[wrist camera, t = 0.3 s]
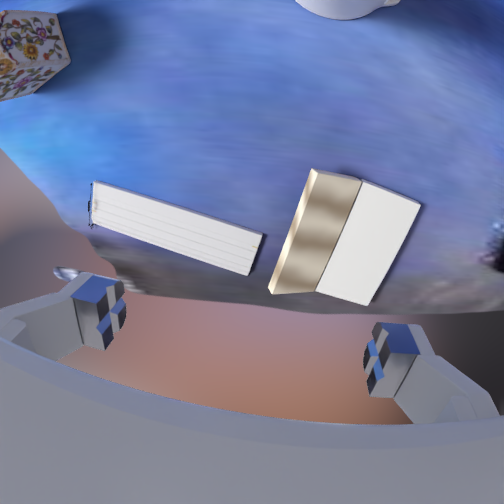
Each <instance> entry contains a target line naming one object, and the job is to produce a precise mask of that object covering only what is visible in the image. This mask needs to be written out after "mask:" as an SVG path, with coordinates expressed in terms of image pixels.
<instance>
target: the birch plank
mask: <svg viewBox="0 0 504 504" xmlns="http://www.w3.org/2000/svg"><path fill="white" fill-rule="evenodd" d="M361 183H362V181H360V180H359V179H357V178H356V177H353V176H348V175H343V174H338V173H333V172H328V171H323V170H318V169H313V168H311V171H310V174H309V177H308V180H307V182H306V185H305V188H304V191H303V194H302V196H301V199H300V202H299V205H298V208H297V210H296V213H295V216H294V219H293V222H292V224H291V227H290V230H289V233H288V235H287V238H286V241H285V243H284V246H283V249H282V252H281V254H280V257H279V260H278V262H277V265H276V268H275V270H274V273H273V276H272V278H271V281H270V284H269V286H268V288H269V290H270V292H271V293H272V294H284V293H298V292H312V291H314V290H315V288H316V285H317V283H318V281H319V279H320V277H321V275H322V273H323V271H324V268H325V266H326V264H327V262H328V260H329V257H330V255H331V253H332V251H333V249H334V246H335V244H336V242H337V240H338V237H339V235H340V233H341V231H342V228H343V226H344V224H345V221H346V219H347V217H348V214H349V212H350V210H351V207H352V205H353V202H354V200H355V198H356V195H357V193H358V190H359V188H360V185H361Z"/></svg>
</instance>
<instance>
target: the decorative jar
mask: <svg viewBox="0 0 504 504" xmlns="http://www.w3.org/2000/svg"><path fill="white" fill-rule="evenodd" d="M70 62H71V59H70V56H69V53H68V50H67V48H66V45H65V42H64V38H63V34H62V31H61V28H60V25H59V21H58V18H57V14H55V13H48V12H39V11H22V10H4V11H2V12H0V102H1V101H5V100H9V99H14V98H18V97H22V96H26V95H30V94H32V93H34V92H35V91H36V90H37V89H38V88H40V87H41V86H42V85H43V84H44V83H46V82H47V81H48V80H49V79H50V78H52V77H53V76H54V75H55V74H57V73H58V72H59V71H60V70H62V69H63V68H64V67H66V66H67V65H68V64H70Z"/></svg>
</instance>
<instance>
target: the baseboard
mask: <svg viewBox="0 0 504 504" xmlns="http://www.w3.org/2000/svg"><path fill="white" fill-rule="evenodd" d="M91 186H92V183H91ZM90 200H91V195H90ZM89 202H90V201H88V212H89V207H90V205H89V204H90V203H89ZM92 202H93V204H92V220H93V223H95V224H97V225H100V226H103V227H106V228H108V229H111V230H114V231H117V232H120V233H123V234H125V235H128V236H131V237H134V238H137V239H140V240H143V241H145V242H148V243H151V244H154V245H157V246H160V247H163V248H166V249H169V250H171V251H174V252H177V253H180V254H183V255H186V256H189V257H192V258H195V259H198V260H201V261H204V262H207V263H210V264H213V265H216V266H219V267H222V268H225V269H228V270H231V271H234V272H237V273H240V274H243V275H246V276H248V273H249V271H250V268H251V265H252V263H253V260H254V257H255V254H256V251H257V249H258V246H259V243H260V240H261V238H262V234H263V233H261V232H258V231H255V230H252V229H249V228H246V227H243V226H240V225H237V224H233V223H230V222H227V221H224V220H221V219H218V218H215V217H212V216H209V215H206V214H203V213H200V212H197V211H193V210H190V209H187V208H184V207H181V206H178V205H175V204H172V203H168V202H165V201H162V200H159V199H156V198H153V197H149V196H146V195H143V194H140V193H137V192H133V191H130V190H127V189H124V188H120V187H117V186H114V185H111V184H107V183H104V182H101V181H98V180H96V181H94V186H93V200H92ZM89 220H90V213H89ZM89 225H90V224H89ZM93 225H94V224H92V225H91V226H93ZM91 226H90V227H91ZM92 228H93V227H91V229H92Z"/></svg>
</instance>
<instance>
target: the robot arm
mask: <svg viewBox="0 0 504 504" xmlns="http://www.w3.org/2000/svg"><path fill="white" fill-rule="evenodd" d="M295 1H296V2H298V3H299V4H300V5H301V6H303V7H304V8H305V9H307V10H309V11H311V12H313V13H315V14H317V15H320V16H323V17H326V18H331V19H339V20H347V19H355V18H359V17H362V16H365V15H367V14H369V13H371V12H372V11H374V10H375V9H377V8H379V7H385V6H393V5H397V4H398V3H399V2H400V0H295ZM124 293H125V292H124V284H123V282H122V281H121V280H117V279H113V278H108V277H104V276H100V275H95V274H92V273H87V272H81V273H80V274H79V275H78V276H76V277H75V278H74V279H73V280H72V281H71V282H69V283H68V284H67V285H66V286H65V287H64V288H63V289H61V290H60V291H59V292H58V293H51V294H47V295H44V296H41V297H37V298H34V299H31V300H27V301H24V302H21V303H18V304H14V305H11V306H8V307H5V308H1V309H0V504H504V416H499V413H498V411H497V409H496V407H495V405H494V403H493V401H492V399H491V397H490V395H489V393H488V392H487V391H485V390H484V389H483V388H481V387H480V386H479V385H477V384H476V383H475V382H473V381H472V380H471V379H469V378H468V377H467V376H466V375H464V374H463V373H462V372H460V371H459V370H458V369H456V368H455V367H454V366H452V365H451V364H450V363H448V362H447V361H446V360H444V359H443V358H442V357H440V356H435V353H434V351H433V349H432V347H431V345H430V343H429V341H428V339H427V337H426V335H425V333H424V331H423V329H422V327H421V326H420V325H413V324H396V323H395V324H394V323H383V322H377V323H376V324H375V326H374V328H373V330H372V335H373V340H371V341H370V342H369V343H367V346H366V349H365V351H364V357H363V367H364V372H365V373H366V374H368V375H369V377H368V379H367V386H368V392H369V396H370V397H385V398H394V400H395V401H396V403H397V404H398V405H399V406H400V407H401V409H402V410H403V411H404V412H405V413H406V415H407V416H408V417H409V418H410V419H411V421H412V422H413V423H414V424H406V425H362V424H361V425H360V424H338V423H322V422H311V421H300V420H291V419H282V418H274V417H266V416H260V415H253V414H246V413H240V412H234V411H228V410H223V409H217V408H212V407H207V406H202V405H198V404H193V403H189V402H184V401H180V400H176V399H171V398H167V397H163V396H160V395H156V394H152V393H148V392H144V391H141V390H138V389H134V388H131V387H127V386H124V385H121V384H118V383H114V382H111V381H108V380H105V379H102V378H99V377H96V376H93V375H90V374H88V373H85V372H82V371H79V370H77V369H74V368H71V367H69V366H66V365H63V364H61V363H58V362H56V361H57V360H58V359H60V358H62V357H64V356H66V355H68V354H70V353H71V352H73V351H75V350H77V349H78V348H80V347H82V346H83V345H86V346H89V347H93V348H96V349H100V350H103V351H105V350H106V349H107V347H108V346H109V344H110V343H111V342H112V340H113V339H114V336H113V333H115V332H117V331H119V330H120V329H121V328H122V326H123V324H124V321H125V319H126V304H125V302H124V301H123V299H122V298H121V297H122V296H123V294H124Z"/></svg>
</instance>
